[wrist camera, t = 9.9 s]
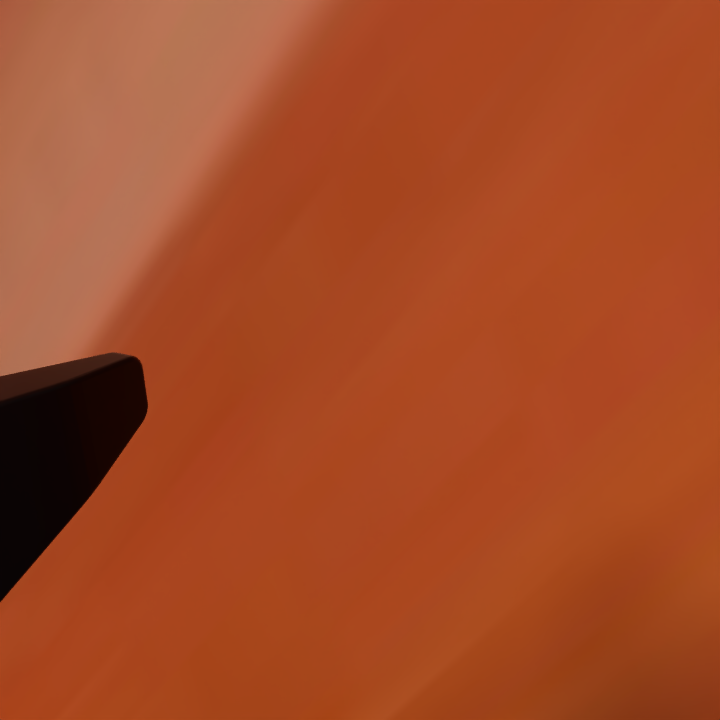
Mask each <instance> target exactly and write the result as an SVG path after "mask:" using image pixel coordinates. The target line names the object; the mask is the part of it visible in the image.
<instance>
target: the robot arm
mask: <svg viewBox="0 0 720 720" xmlns="http://www.w3.org/2000/svg"><path fill="white" fill-rule="evenodd" d="M147 409H148V402H147V395H146V388H145V381H144V374H143V367H142V364H141V362H140V360H139V359H138V358H136V357H134V356H131V355H126V354H121V353H107V354H102V355H98V356H93V357H88V358H84V359H79V360H74V361H70V362H65V363H60V364H56V365H51V366H47V367H42V368H37V369H33V370H28V371H23V372H19V373H14V374H9V375H5V376H0V602H1V601H2V600H3V599H4V597H5V596H6V595H7V594H8V593H9V591H10V590H11V589H12V588H13V587H14V586H15V584H16V583H17V582H18V581H19V580H20V579H21V577H22V576H23V575H24V574H25V573H26V572H27V570H28V569H29V568H30V567H31V566H32V565H33V563H34V562H35V561H36V560H37V559H38V558H39V556H40V555H41V554H42V553H43V552H44V550H45V549H46V548H47V547H48V546H49V545H50V543H51V542H52V541H53V540H54V539H55V538H56V536H57V535H58V534H59V533H60V532H61V531H62V529H63V528H64V527H65V526H66V525H67V524H68V522H69V521H70V520H71V519H72V518H73V517H74V515H75V514H76V513H77V512H78V511H79V510H80V508H81V507H82V506H83V505H84V504H85V502H86V501H87V500H88V499H89V497H90V496H91V495H92V494H93V492H94V491H95V489H96V488H97V487H98V485H99V484H100V483H101V481H102V480H103V478H104V477H105V475H106V474H107V473H108V471H109V470H110V468H111V467H112V465H113V464H114V463H115V461H116V460H117V458H118V457H119V455H120V454H121V452H122V451H123V450H124V448H125V447H126V445H127V444H128V442H129V441H130V440H131V438H132V437H133V435H134V434H135V432H136V431H137V429H138V428H139V427H140V425H141V424H142V422H143V421H144V419H145V416H146V414H147Z"/></svg>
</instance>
